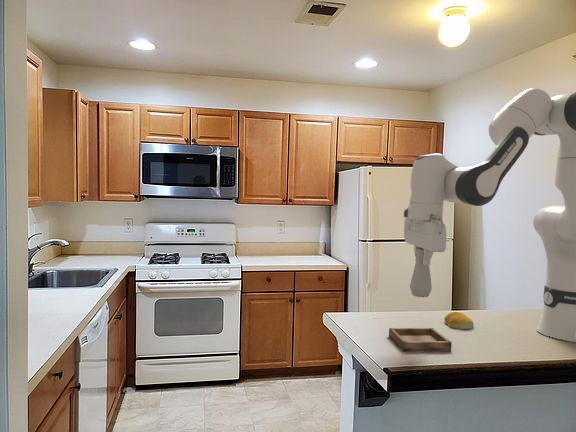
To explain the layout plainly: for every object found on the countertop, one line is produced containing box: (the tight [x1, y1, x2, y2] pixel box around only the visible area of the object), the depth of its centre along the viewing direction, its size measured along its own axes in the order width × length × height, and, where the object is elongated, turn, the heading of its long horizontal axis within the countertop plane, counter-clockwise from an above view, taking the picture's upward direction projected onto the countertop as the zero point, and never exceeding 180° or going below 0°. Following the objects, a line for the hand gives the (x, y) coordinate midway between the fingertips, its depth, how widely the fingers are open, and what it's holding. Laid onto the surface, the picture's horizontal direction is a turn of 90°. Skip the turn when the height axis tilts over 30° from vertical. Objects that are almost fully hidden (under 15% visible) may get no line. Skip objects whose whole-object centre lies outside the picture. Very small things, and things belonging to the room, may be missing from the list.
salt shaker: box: [409, 248, 433, 298], centre depth 125 cm, size 6×6×13 cm
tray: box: [388, 327, 453, 352], centre depth 126 cm, size 13×12×2 cm
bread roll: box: [443, 311, 475, 330], centre depth 144 cm, size 8×9×4 cm
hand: (422, 263), depth 124 cm, fingers closed on salt shaker, 3 cm apart
